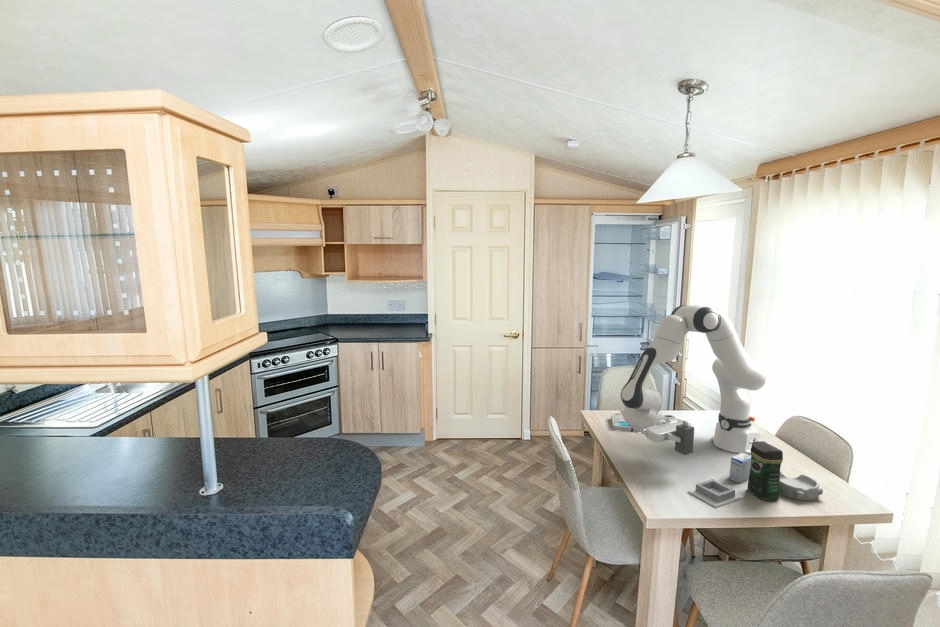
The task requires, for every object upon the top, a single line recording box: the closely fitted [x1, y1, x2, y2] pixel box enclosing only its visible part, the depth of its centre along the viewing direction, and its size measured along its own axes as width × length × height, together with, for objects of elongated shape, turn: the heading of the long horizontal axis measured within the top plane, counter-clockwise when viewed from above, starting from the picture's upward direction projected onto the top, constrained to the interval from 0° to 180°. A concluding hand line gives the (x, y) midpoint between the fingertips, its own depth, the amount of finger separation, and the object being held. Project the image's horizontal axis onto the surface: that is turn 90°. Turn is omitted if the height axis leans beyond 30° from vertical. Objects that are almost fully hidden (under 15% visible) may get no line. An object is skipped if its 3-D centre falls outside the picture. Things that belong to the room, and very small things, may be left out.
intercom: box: [610, 408, 641, 433], centre depth 230 cm, size 13×4×25 cm
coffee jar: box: [747, 440, 784, 501], centre depth 160 cm, size 10×8×19 cm
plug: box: [674, 420, 695, 456], centre depth 171 cm, size 4×4×12 cm
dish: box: [780, 471, 824, 501], centre depth 163 cm, size 14×14×5 cm
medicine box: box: [728, 453, 751, 484], centre depth 172 cm, size 8×4×9 cm, turn 123°
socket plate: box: [687, 478, 743, 509], centre depth 161 cm, size 14×11×3 cm
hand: (686, 438), depth 170 cm, fingers closed on plug, 4 cm apart
